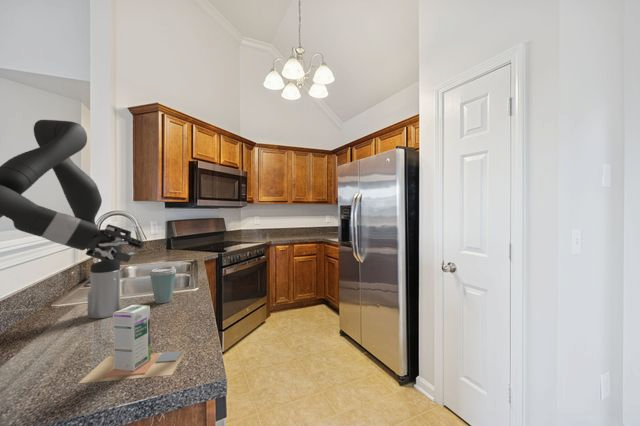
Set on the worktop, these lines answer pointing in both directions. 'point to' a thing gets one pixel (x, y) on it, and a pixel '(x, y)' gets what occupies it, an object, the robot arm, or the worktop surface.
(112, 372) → the terracotta pad
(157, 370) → the oak board
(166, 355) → the slate tile
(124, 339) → the syrup box
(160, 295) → the disposable coffee cup
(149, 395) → the worktop surface
